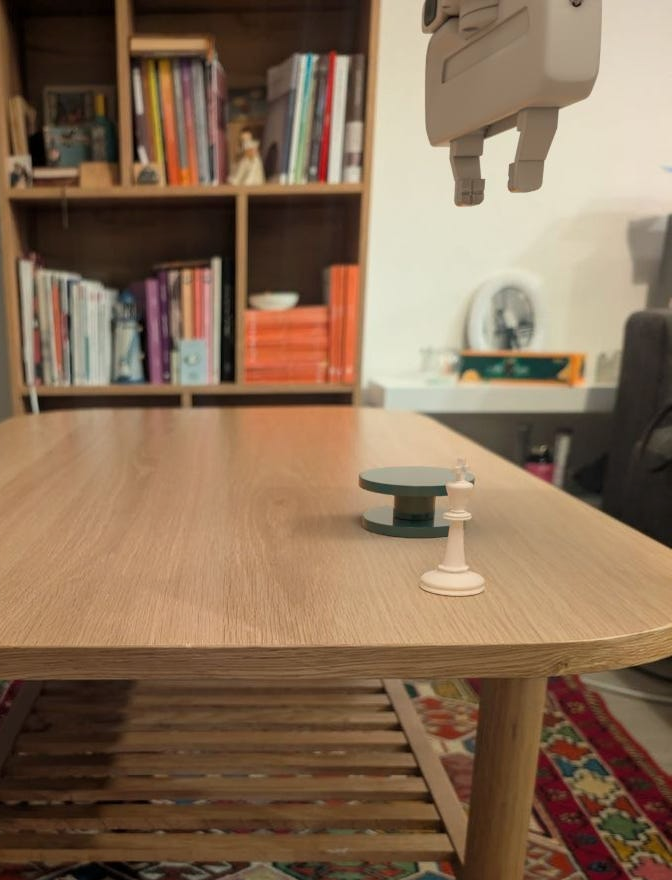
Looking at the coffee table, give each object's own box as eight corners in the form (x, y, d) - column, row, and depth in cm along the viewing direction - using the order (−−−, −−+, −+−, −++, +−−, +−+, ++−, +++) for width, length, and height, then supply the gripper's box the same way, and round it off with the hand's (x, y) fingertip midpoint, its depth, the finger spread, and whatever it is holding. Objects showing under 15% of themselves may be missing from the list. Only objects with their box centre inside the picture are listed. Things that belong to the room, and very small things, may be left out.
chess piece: (406, 586, 74) (414, 458, 71) (444, 574, 77) (453, 451, 74) (459, 600, 70) (470, 465, 67) (497, 587, 73) (509, 457, 70)
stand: (465, 515, 98) (468, 466, 96) (476, 540, 87) (481, 486, 86) (357, 513, 100) (359, 465, 98) (356, 537, 89) (358, 485, 88)
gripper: (644, -90, 53) (614, 180, 58) (493, 14, 72) (480, 211, 77) (537, -92, 53) (516, 182, 57) (413, 14, 72) (405, 213, 76)
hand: (494, 199), depth 67 cm, fingers open, 8 cm apart
